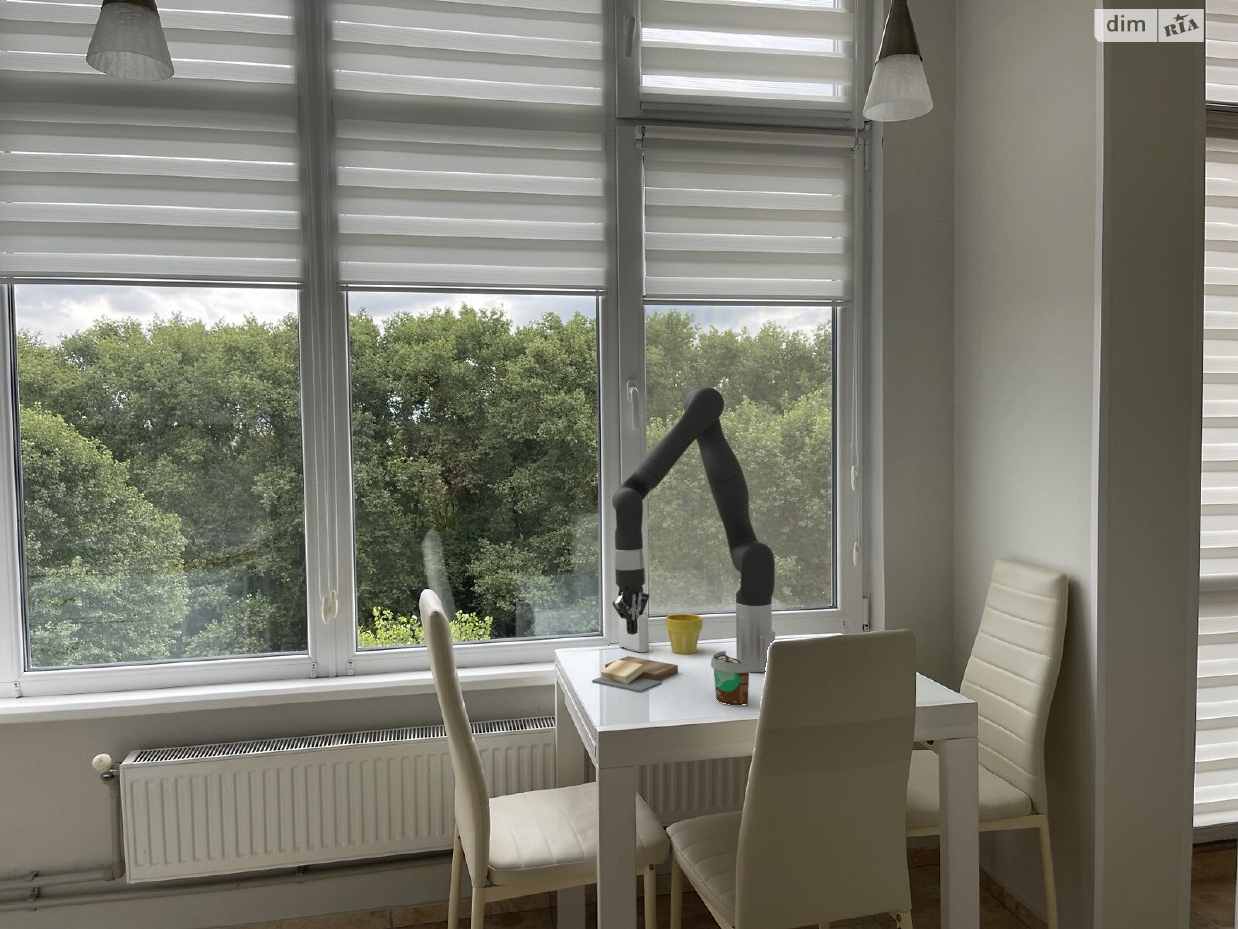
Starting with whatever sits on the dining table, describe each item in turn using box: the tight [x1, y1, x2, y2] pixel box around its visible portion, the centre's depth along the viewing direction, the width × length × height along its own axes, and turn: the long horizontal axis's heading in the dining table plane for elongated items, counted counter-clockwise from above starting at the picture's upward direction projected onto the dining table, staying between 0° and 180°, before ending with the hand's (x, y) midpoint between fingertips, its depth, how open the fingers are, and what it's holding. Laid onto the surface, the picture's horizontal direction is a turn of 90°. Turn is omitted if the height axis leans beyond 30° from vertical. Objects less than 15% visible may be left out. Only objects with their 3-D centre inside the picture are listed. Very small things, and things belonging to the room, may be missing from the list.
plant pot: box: [665, 613, 703, 655], centre depth 243 cm, size 10×10×10 cm
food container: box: [710, 650, 752, 706], centre depth 197 cm, size 12×6×10 cm, turn 21°
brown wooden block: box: [604, 655, 679, 681], centre depth 222 cm, size 16×10×2 cm, turn 52°
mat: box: [591, 676, 663, 694], centre depth 213 cm, size 15×9×1 cm, turn 52°
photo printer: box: [617, 609, 650, 653], centre depth 246 cm, size 10×4×12 cm, turn 39°
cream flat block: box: [600, 659, 644, 684], centre depth 215 cm, size 8×7×2 cm
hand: (632, 633), depth 219 cm, fingers closed
